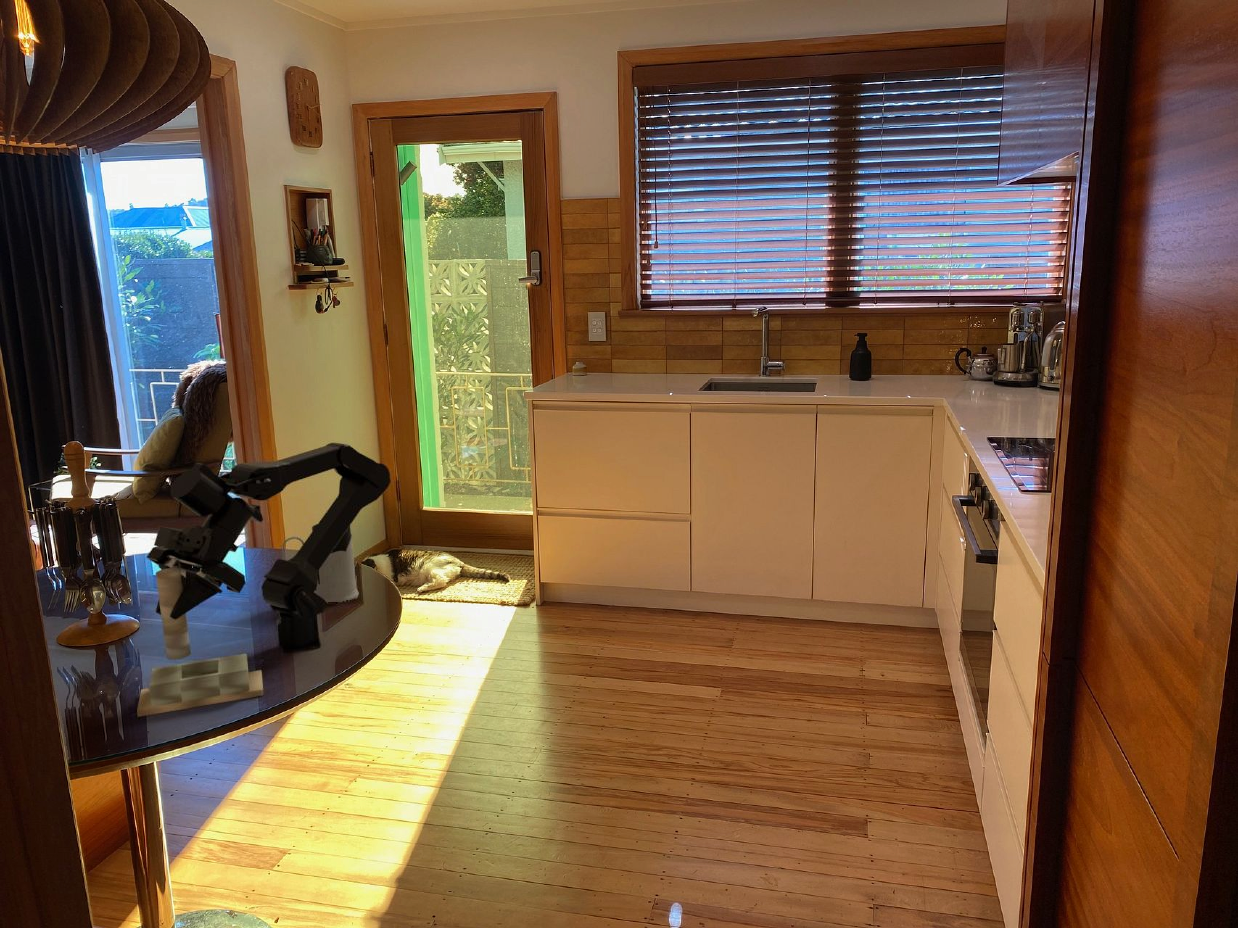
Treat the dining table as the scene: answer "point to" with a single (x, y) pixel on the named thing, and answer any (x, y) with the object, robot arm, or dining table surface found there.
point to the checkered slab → (199, 684)
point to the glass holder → (336, 571)
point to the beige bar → (172, 628)
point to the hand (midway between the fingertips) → (165, 615)
